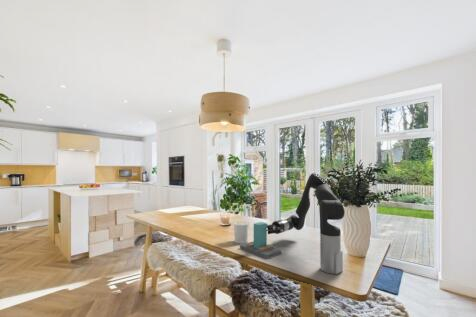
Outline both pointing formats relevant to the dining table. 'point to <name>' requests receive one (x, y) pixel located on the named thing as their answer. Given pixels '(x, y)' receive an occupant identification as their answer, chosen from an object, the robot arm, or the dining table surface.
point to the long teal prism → (260, 235)
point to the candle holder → (241, 232)
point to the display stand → (261, 250)
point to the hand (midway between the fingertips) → (262, 230)
